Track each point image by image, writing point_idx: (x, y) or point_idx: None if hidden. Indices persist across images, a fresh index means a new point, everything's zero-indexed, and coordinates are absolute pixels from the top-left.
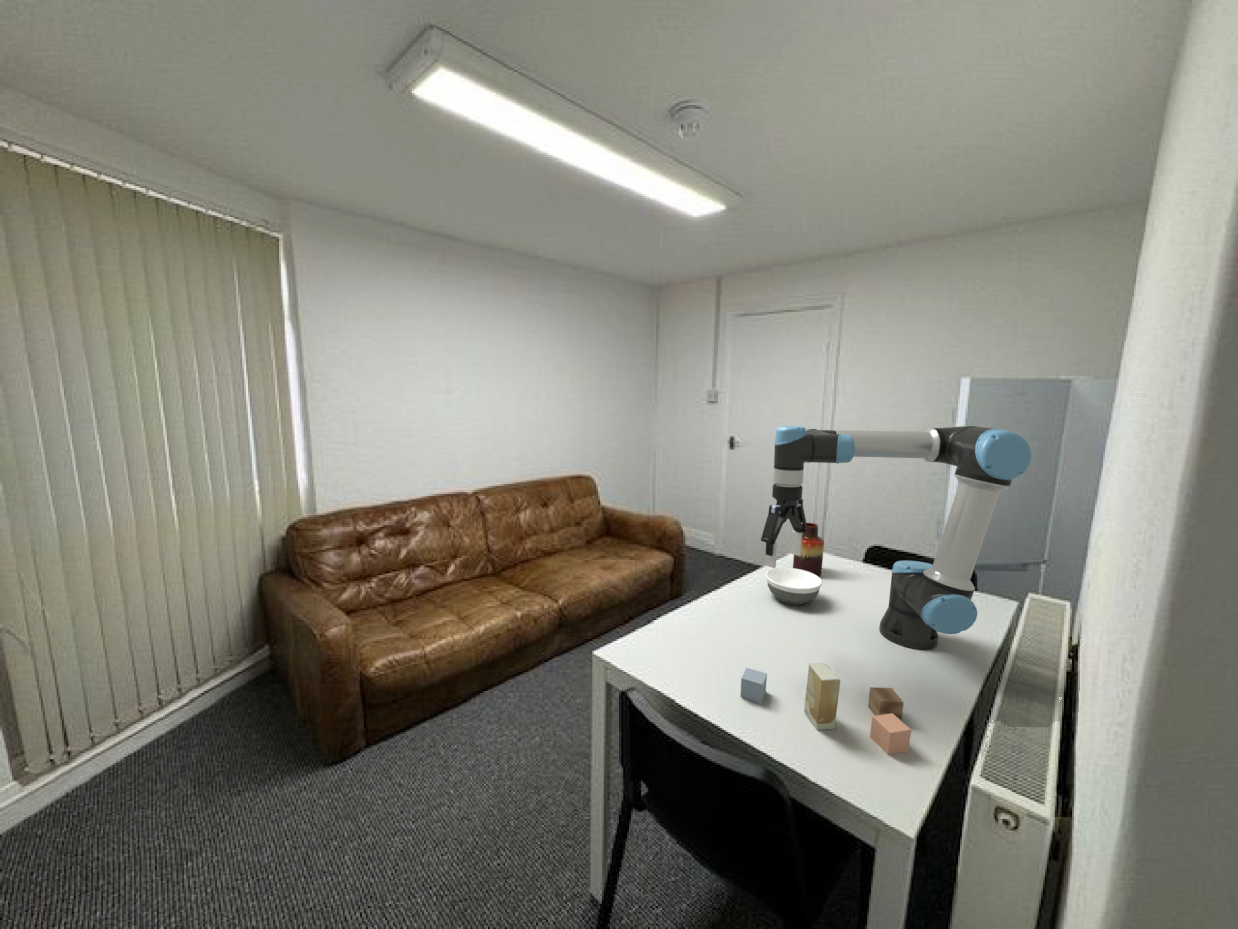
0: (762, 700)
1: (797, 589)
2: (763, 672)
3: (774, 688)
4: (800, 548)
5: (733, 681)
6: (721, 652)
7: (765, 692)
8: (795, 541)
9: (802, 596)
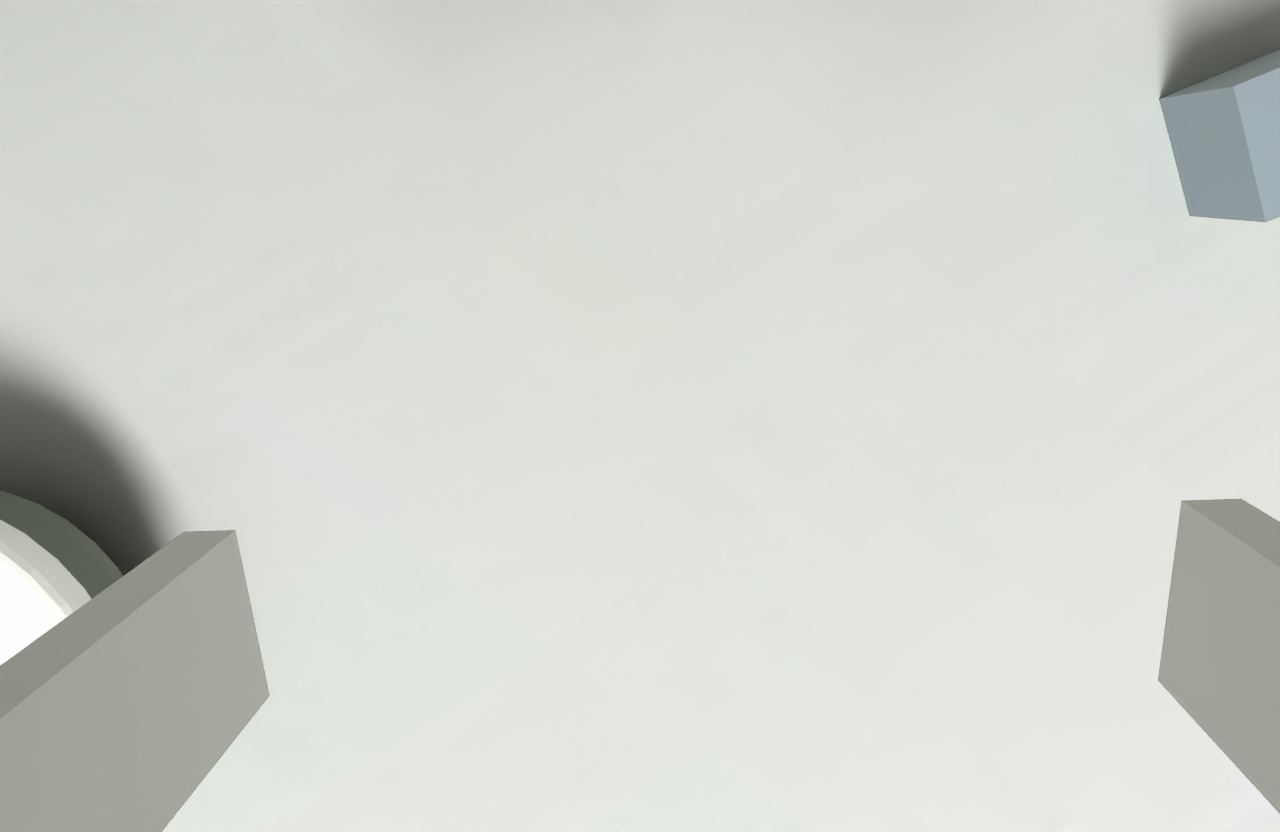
0: (1265, 55)
1: (43, 574)
2: (1239, 109)
3: (1087, 84)
4: (119, 603)
5: (1199, 285)
6: (976, 509)
7: (1168, 95)
8: (72, 811)
9: (43, 526)
